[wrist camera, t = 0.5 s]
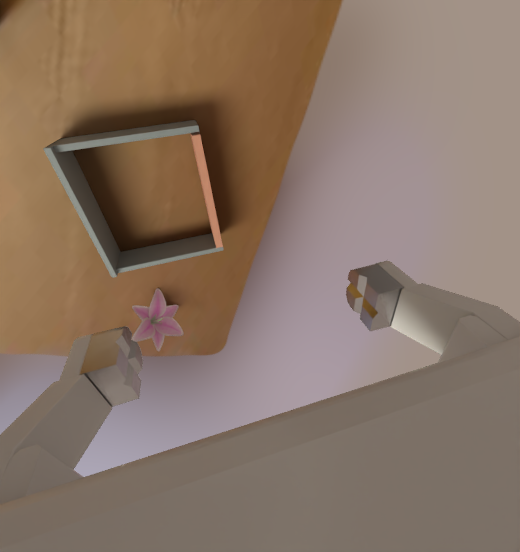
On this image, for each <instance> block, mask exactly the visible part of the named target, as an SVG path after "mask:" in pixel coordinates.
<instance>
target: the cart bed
mask: <svg viewBox="0 0 520 552" xmlns="http://www.w3.org/2000/svg"><path fill="white" fill-rule="evenodd" d="M194 132H199V127H198V124H197V123H196V121H195V120H191V121H183V122H176V123H169V124H162V125H155V126H147V127H140V128H133V129H126V130H119V131H112V132H104V133H97V134H90V135H83V136H76V137H69V138H61V139H59V140H57V141H55V142H54V143H52V144H50V145H49V146H47V147H45V148H43V149H44V151H45V153H46V155H47V157H48V159H49V160H50V162H51V164H52V166H53V168H54V170H55V172H56V174H57V175H58V177H59V179H60V181H61V183H62V185H63V187H64V188H65V190H66V192H67V194H68V196H69V198H70V200H71V202H72V203H73V205H74V207H75V209H76V211H77V213H78V215H79V217H80V218H81V220H82V222H83V224H84V226H85V228H86V230H87V232H88V233H89V235H90V237H91V239H92V241H93V243H94V245H95V246H96V248H97V250H98V252H99V254H100V256H101V258H102V260H103V261H104V263H105V265H106V267H107V269H108V271H109V273H110V275H111V276H112V277H117V274H118V273H121V272H125V271H130V270H135V269H139V268H144V267H148V266H153V265H158V264H162V263H167V262H171V261H176V260H181V259H185V258H190V257H194V256H199V255H204V254H208V253H213V252H217V251H222V250H223V247H219V248H216V245H215V242H214V238H213V234H212V233H210V234H206V235H201V236H196V237H191V238H186V239H181V240H177V241H172V242H167V243H162V244H157V245H152V246H147V247H143V248H138V249H133V250H128V251H123V252H120V250H119V248H118V245H117V243H116V241H115V239H114V237H113V235H112V233H111V231H110V229H109V227H108V224H107V222H106V220H105V218H104V216H103V214H102V212H101V210H100V208H99V206H98V203H97V201H96V199H95V197H94V195H93V193H92V191H91V189H90V187H89V185H88V182H87V180H86V178H85V176H84V174H83V172H82V170H81V168H80V166H79V163H78V161H77V159H76V157H75V155H74V153H73V151H72V150H78V149H85V148H91V147H98V146H105V145H112V144H119V143H125V142H132V141H139V140H146V139H153V138H160V137H166V136H173V135H180V134H187V133H194Z"/></svg>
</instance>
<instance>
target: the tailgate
mask: <svg viewBox="0 0 520 552" xmlns="http://www.w3.org/2000/svg"><path fill="white" fill-rule="evenodd" d="M190 135H191V140H192V144H193V149H194V153H195V158H196V162H197V167H198V171H199V176H200V180H201V185H202V190H203V194H204V199H205V203H206V208H207V212H208V217H209V221H210V226H211V230H212V234H213V238H214V242H215V245H216V248H219V247H223V245H222V240H221V235H220V230H219V225H218V220H217V215H216V210H215V205H214V200H213V195H212V190H211V185H210V180H209V175H208V170H207V165H206V160H205V156H204V151H203V146H202V141H201V136H200V133H199V132H194V133H190Z"/></svg>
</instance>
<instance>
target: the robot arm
mask: <svg viewBox="0 0 520 552" xmlns="http://www.w3.org/2000/svg"><path fill="white" fill-rule="evenodd" d="M348 280H349V281H350V282H351V283H350V285H349V286H348V287H347V291H346V296H347V300H348V303H349V305H350V307H351V308H352V309H353V311H355V312H357V313H360V320H361V321H362V322H363V323H364V324H365V326H366V327H367V328H368V329H369V331H373V330H377V329H381V328H385V327H389V326H391V327H392V328H393V329H396V330H397V331H399V332H401V333H403V334H405V335H406V336H409V337H410V338H412V339H414V340H415V341H417V342H419V343H421V344H423V345H425V346H427V347H428V348H430V349H432V350H434V351H436V352H438V353H439V354H441V357H440V359H439V361H438V363H435V364H432V365H429V366H426V367H423V368H420V369H417V370H414V371H411V372H408V373H405V374H401V375H398V376H396V377H392V378H389V379H387V380H383V381H380V382H377V383H374V384H371V385H368V386H364V387H362V388H358V389H355V390H352V391H349V392H346V393H343V394H340V395H337V396H334V397H331V398H327V399H324V400H321V401H318V402H316V403H312V404H309V405H306V406H303V407H300V408H297V409H293V410H291V411H288V412H284V413H281V414H278V415H275V416H272V417H269V418H266V419H263V420H260V421H257V422H253V423H250V424H247V425H244V426H241V427H238V428H235V429H232V430H229V431H226V432H222V433H220V434H217V435H213V436H210V437H207V438H204V439H201V440H198V441H195V442H192V443H188V444H185V445H182V446H179V447H176V448H173V449H170V450H167V451H164V452H161V453H158V454H154V455H151V456H148V457H145V458H142V459H139V460H136V461H133V462H130V463H127V464H124V465H121V466H117V467H114V468H111V469H108V470H105V471H102V472H99V473H96V474H93V475H90V476H86V477H83V476H81V475H80V474H79V473H77V472H76V471H74V468H75V467H76V465H77V463H78V462H79V460H80V458H81V457H82V455H83V454H84V452H85V451H86V449H87V448H88V446H89V444H90V443H91V441H92V439H93V438H94V437H95V435H96V433H97V432H98V430H99V429H100V427H101V426H102V424H103V422H104V421H105V419H106V417H107V416H108V414H109V413H110V411H111V410H112V407H113V406H116V405H120V404H123V403H126V402H129V401H132V400H135V399H139V395H140V386H141V380H140V378H139V376H138V374H139V372H140V371H141V370H142V364H143V360H142V353H141V350H140V347H139V345H138V343H137V342H135V341H133V340H131V339H132V333H131V331H130V329H129V328H128V327H126V326H124V327H120V328H115V329H111V330H107V331H102V332H98V333H94V334H90V335H86V336H81V337H78V338H77V339H75V340H74V342H73V345H72V348H71V350H70V353H69V356H68V359H67V361H66V364H65V366H64V369H63V372H62V375H61V377H60V380H59V381H56V382H54V383H53V384H51V385H50V386H49V388H47V389H46V390H45V391H44V392H43V393H42V394H41V395H40V396H39V397H38V398H37V399H36V400H35V401H34V402H33V403H32V404H31V405H30V406H29V407H28V408H27V409H26V410H25V411H24V412H23V413H22V414H21V415H20V416H19V417H18V418H17V419H16V420H15V421H14V422H13V423H12V424H11V425H10V426H9V427H8V428H7V429H6V430H5V431H4V432H3V433H2V434H1V435H0V552H520V322H519V321H518V320H516V319H515V318H513V317H512V316H510V315H509V314H508V313H506V312H504V311H503V310H502V309H500V308H499V307H497V306H494V305H491V304H488V303H485V302H481V301H478V300H475V299H472V298H468V297H465V296H462V295H459V294H455V293H452V292H449V291H445V290H442V289H439V288H436V287H432V286H429V285H426V284H423V283H422V284H417V283H416V282H415V281H414V280H412V279H411V278H410V277H409V276H408V275H406V274H405V273H404V272H403V271H401V270H400V269H399V268H398V267H396V266H395V265H394V264H392V262H390V261H384V262H380V263H376V264H374V265H369V266H366V267H362V268H358V269H354V270H351V271H350V272H349V275H348Z"/></svg>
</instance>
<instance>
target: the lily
mask: <svg viewBox="0 0 520 552" xmlns="http://www.w3.org/2000/svg"><path fill="white" fill-rule="evenodd" d="M132 308H133V310H134V311H135V313H136V314H137V315H138V316H139V318H140V319H141V320H142V322H141V324H140V326H139V327H138V329H137V330H136V332H135V333H134V335H133V337H132V340H133V341H135V342H137V341H142V340H146V339H149V338H151V337H152V339H153V342H154V344H155V347H156V349H157V351H160V349H161V347H162V344H163V341H164V337H165V335H167V336H182V335H183V334H184V333H183V330H182V329H181V327H180V326H179V324H178V323H177V322H176V320H174V319H173V316H174V315H175V313H176V311H177V309H178V305H170V306H166V302H165V299H164V296H163V294H162V292H161V290H160V289H158V288H157V289H156V291H155V293H154V296H153V299H152V301H151V304H150V307H146V306H132Z"/></svg>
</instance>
